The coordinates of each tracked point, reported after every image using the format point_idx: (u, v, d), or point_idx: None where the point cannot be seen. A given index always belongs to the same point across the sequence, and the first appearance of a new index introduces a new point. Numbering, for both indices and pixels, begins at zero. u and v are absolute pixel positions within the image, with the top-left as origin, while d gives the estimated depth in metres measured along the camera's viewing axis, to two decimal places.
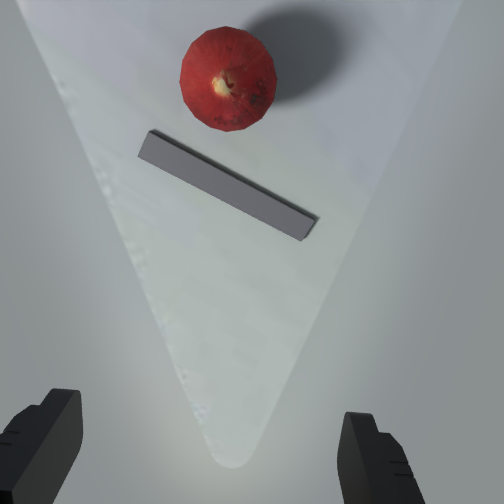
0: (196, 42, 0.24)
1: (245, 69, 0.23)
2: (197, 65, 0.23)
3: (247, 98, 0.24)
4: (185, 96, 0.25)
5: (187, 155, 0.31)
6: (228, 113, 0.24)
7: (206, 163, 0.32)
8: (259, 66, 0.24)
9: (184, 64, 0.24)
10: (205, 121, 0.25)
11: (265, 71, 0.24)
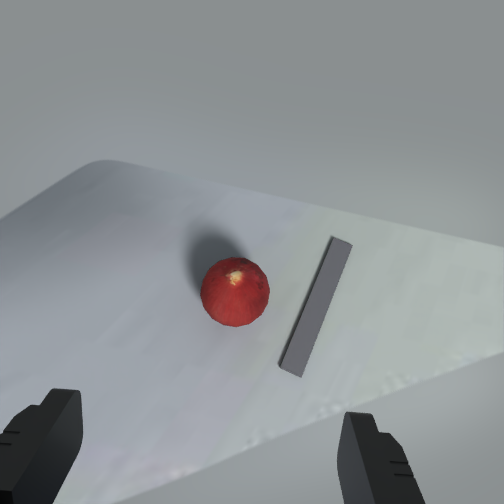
0: (210, 308, 0.35)
1: (224, 267, 0.34)
2: (224, 299, 0.34)
3: (243, 264, 0.34)
4: (246, 314, 0.34)
5: (295, 335, 0.39)
6: (254, 276, 0.34)
7: (300, 320, 0.39)
8: (223, 261, 0.35)
9: (225, 314, 0.34)
10: (262, 298, 0.35)
11: (226, 260, 0.36)
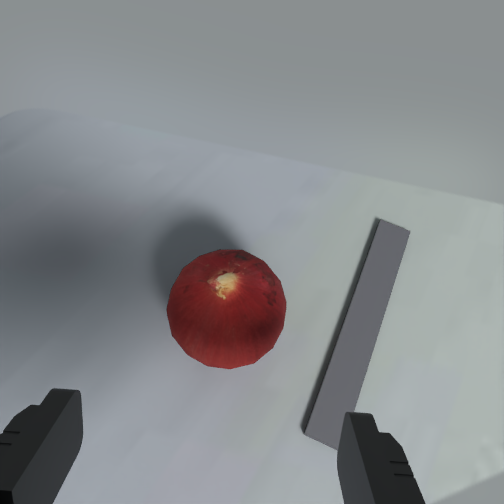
0: (183, 340, 0.20)
1: (207, 266, 0.19)
2: (207, 325, 0.18)
3: (240, 261, 0.19)
4: (247, 349, 0.19)
5: (328, 377, 0.23)
6: (260, 283, 0.19)
7: (334, 352, 0.24)
8: (204, 256, 0.20)
9: (208, 351, 0.19)
10: (274, 320, 0.19)
11: (210, 253, 0.21)
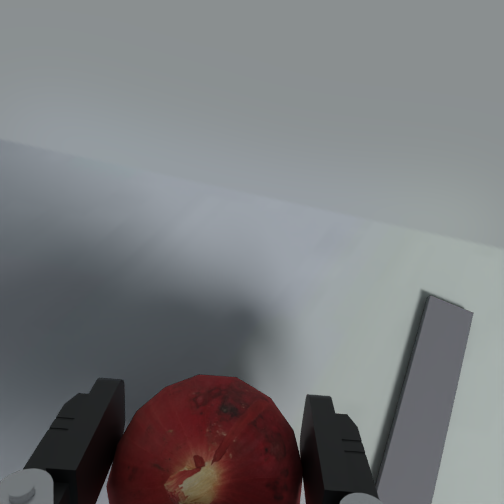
0: None
1: (170, 433, 0.11)
2: None
3: (227, 423, 0.11)
4: None
5: None
6: (261, 465, 0.11)
7: None
8: (169, 404, 0.12)
9: None
10: None
11: (180, 393, 0.13)
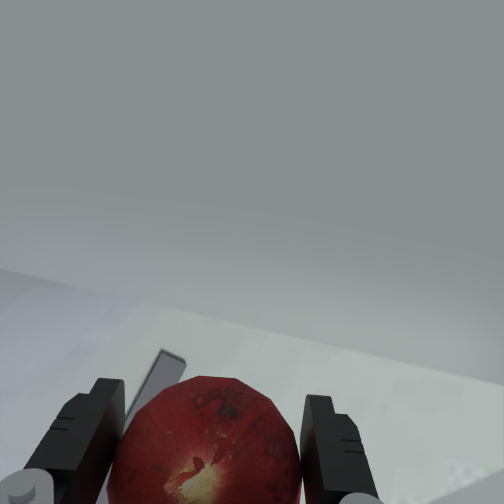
0: None
1: (169, 434, 0.11)
2: None
3: (227, 424, 0.11)
4: None
5: None
6: (260, 467, 0.11)
7: None
8: (168, 406, 0.12)
9: None
10: None
11: (179, 394, 0.13)
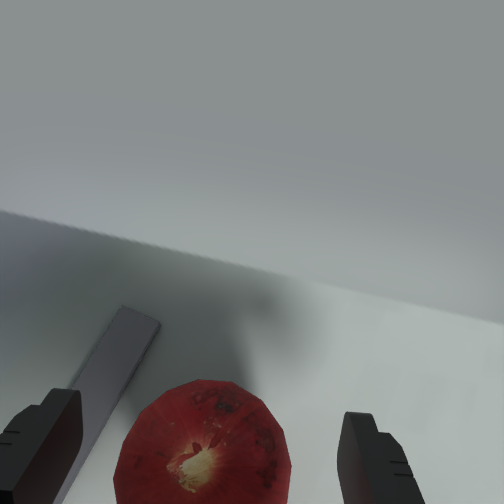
0: None
1: (171, 425, 0.13)
2: None
3: (222, 417, 0.13)
4: None
5: None
6: (252, 454, 0.12)
7: None
8: (171, 402, 0.13)
9: None
10: None
11: (180, 393, 0.14)
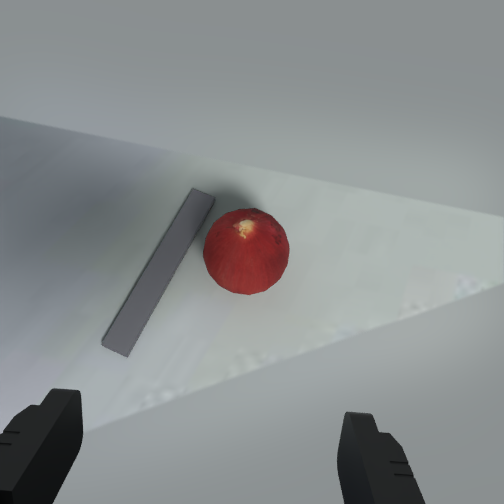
0: (216, 271, 0.28)
1: (232, 217, 0.27)
2: (233, 258, 0.26)
3: (255, 214, 0.27)
4: (261, 276, 0.27)
5: (126, 305, 0.31)
6: (269, 228, 0.27)
7: (135, 287, 0.32)
8: (229, 212, 0.28)
9: (234, 277, 0.27)
10: (280, 255, 0.27)
11: (233, 211, 0.29)
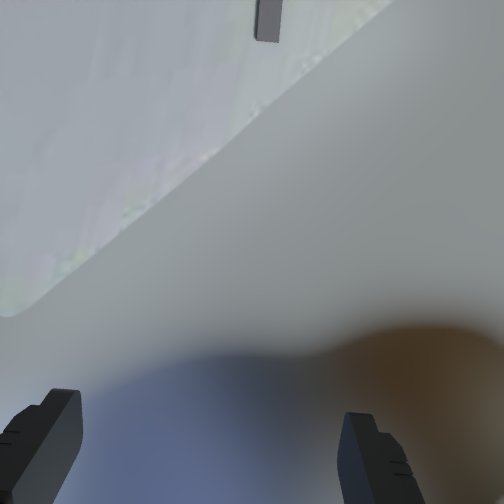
0: None
1: None
2: None
3: None
4: None
5: (261, 0, 0.38)
6: None
7: None
8: None
9: None
10: None
11: None
